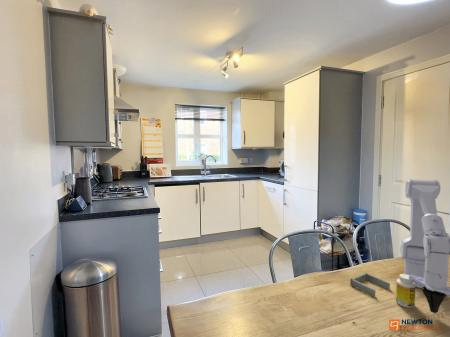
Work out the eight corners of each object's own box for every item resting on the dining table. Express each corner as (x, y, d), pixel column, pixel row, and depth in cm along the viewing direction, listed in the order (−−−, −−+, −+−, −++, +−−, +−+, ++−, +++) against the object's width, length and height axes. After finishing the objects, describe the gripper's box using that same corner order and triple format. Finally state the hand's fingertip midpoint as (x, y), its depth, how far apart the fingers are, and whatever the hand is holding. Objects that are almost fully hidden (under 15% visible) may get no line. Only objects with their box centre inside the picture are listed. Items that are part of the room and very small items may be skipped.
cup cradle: (365, 278, 108) (366, 272, 108) (389, 289, 99) (390, 283, 99) (350, 284, 103) (350, 278, 102) (374, 296, 94) (374, 290, 94)
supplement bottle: (410, 310, 86) (412, 282, 85) (392, 302, 90) (393, 275, 90) (417, 305, 89) (418, 277, 88) (399, 297, 93) (400, 271, 93)
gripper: (404, 265, 85) (403, 303, 86) (459, 285, 73) (457, 329, 74) (415, 260, 89) (413, 297, 90) (469, 279, 76) (467, 321, 77)
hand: (434, 311), depth 82 cm, fingers closed
